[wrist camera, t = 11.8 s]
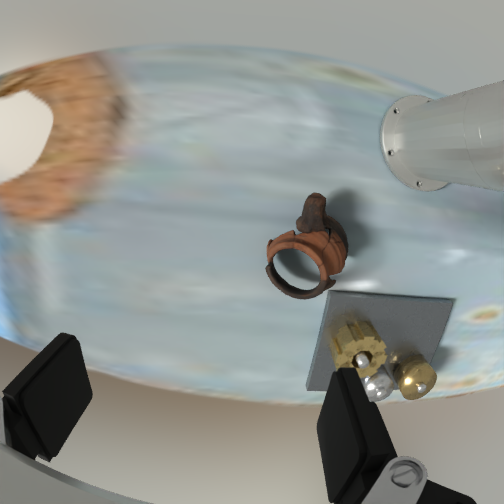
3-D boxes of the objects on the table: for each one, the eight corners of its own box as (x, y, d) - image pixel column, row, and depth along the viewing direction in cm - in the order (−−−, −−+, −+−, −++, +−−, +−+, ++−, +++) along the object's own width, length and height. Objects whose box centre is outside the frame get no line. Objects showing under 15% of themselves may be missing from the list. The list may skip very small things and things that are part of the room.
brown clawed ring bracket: (350, 273, 39) (334, 313, 32) (284, 260, 43) (257, 295, 37) (357, 185, 32) (342, 212, 26) (280, 177, 37) (248, 201, 30)
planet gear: (383, 322, 38) (393, 337, 34) (369, 363, 40) (377, 379, 36) (336, 320, 38) (343, 335, 34) (325, 362, 40) (330, 380, 36)
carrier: (448, 299, 39) (470, 318, 32) (415, 382, 43) (429, 406, 37) (328, 290, 39) (340, 313, 32) (305, 384, 43) (311, 413, 37)
